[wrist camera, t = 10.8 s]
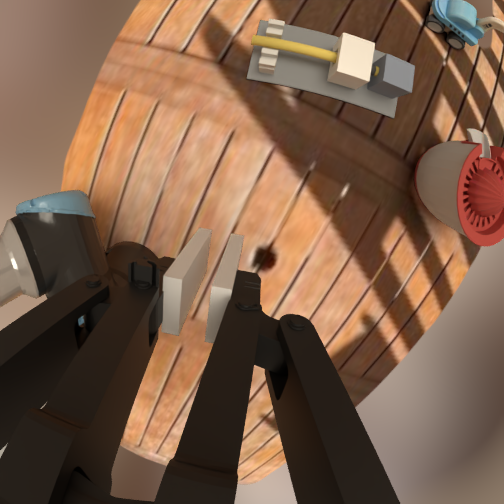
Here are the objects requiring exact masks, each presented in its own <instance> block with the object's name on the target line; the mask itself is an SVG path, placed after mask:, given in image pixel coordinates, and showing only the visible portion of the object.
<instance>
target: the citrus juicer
mask: <svg viewBox="0 0 504 504" xmlns="http://www.w3.org/2000/svg"><path fill="white" fill-rule="evenodd" d="M467 134H468V140H466V141H448V142H444V143H441V144H438V145H436V146H433V147H431V148H429V149H428V150H427V151H426V152H425V153H424V154H423V155H422V156H421V157H420V159H419V160H418V163H417V165H416V168H415V175H414V181H415V187H416V191H417V193H418V195H419V198H420V200H421V201H422V203H423V204H424V206H425V207H426V208H427V209H428V210H429V211H430V212H431V213H432V214H433V215H434V216H435V217H436V218H437V219H438V220H440V221H441V222H443V223H444V224H446V225H447V226H449V227H451V228H452V229H454V230H456V231H458V232H459V233H461V234H463V235H465V236H466V237H468V238H469V240H471V241H472V242H473V243H474V244H477V245H479V246H491V245H494V244H496V243H498V242H500V241H501V240H502V239H503V238H504V148H501V147H496V146H489V141H488V138H487V136H486V135H485V134H484V133H482V132H480V131H478V130H475V129H467Z"/></svg>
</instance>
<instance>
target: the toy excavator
mask: <svg viewBox="0 0 504 504" xmlns="http://www.w3.org/2000/svg"><path fill="white" fill-rule="evenodd" d="M430 7H431V8H430V13H429V15H428V16H427V18H426V26H427V27H428V28H430V29H431V30H433V31H435V32H437V33H443V32H444V31H445V32H447V33H448V35H447V39H446V40H447V42H449V43H450V44H451V45H450V46H452V47H454V48H456V49H462V48H464V47H465V42H467V43H468V44H469V45H470V46H473V45H476V44H477V43H478V39H480V38H482V37H483V36H484V33H485V32H486V31H488V30H491V29H497V30H499V31H501V32H503V33H504V22H503V21H502V20H500V19H498V18H495V17H486V18H483V19H478V18H476V14H477V11H476V9H475V8H474V7H473V6H472V5H470V4H469V3H467V2H465V1H463V0H431V1H430Z"/></svg>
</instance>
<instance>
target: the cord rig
mask: <svg viewBox="0 0 504 504" xmlns="http://www.w3.org/2000/svg"><path fill="white" fill-rule="evenodd" d="M284 23H285V21H280V20H274V19H269V21H263V20H260V24H259V28H258V32H257V35H253V37H252V42H251V45H254V49H253V53H252V57H251V61H250V66H249V70H248V75H247V79H249V80H256V81H261V82H267V83H272V84H277V85H282V86H287V87H292V88H296V89H300V90H304V91H308V92H312V93H316V94H320V95H324V96H327V97H331V98H334V99H338V100H341V101H344V102H348V103H351V104H354V105H357V106H360V107H363V108H366V109H369V110H372V111H374V112H377V113H380V114H383V115H385V116H388V117H390V118H394V116H395V110H396V104H397V98H398V97H399V96H403V95H406V94H409V93H412V86H413V78H414V69H415V66H414V65H412V64H410V63H407V62H405V61H403V60H401V59H399V58H396V57H394V56H392V55H389V54H384V53H382V52H379V51H377V50H374V54H373V61H372V68H371V74H370V81H369V82H368V83H366V84H364V85H363V86H361V87H359V88H358V89H356V90H355V89H352V88H348V87H345V86H342V85H339V84H335V83H332V82H328V81H327V79H328V73H329V68H330V62H334V63H336V59H337V53H336V52H332V51H333V46H334V45H335V44H336V42H337V41H338V39H339V37H336V36H332V35H329V34H325V33H321V32H317V31H313V30H309V29H305V28H301V27H296V26H291V25H286V24H284Z"/></svg>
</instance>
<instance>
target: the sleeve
mask: <svg viewBox="0 0 504 504" xmlns="http://www.w3.org/2000/svg"><path fill="white" fill-rule="evenodd" d="M374 46H375V43H373V42H370V41H367V40H364V39H362V38H359V37H356V36H353V35H350V34H347V33H343V34H342V35H341V37H340V38H339V39H338V41H337V42H336V44H335V45H334V46H333V51H332V52H336V53H337V59H336V63H334V62H330V68H329V73H328V79H327V81H328V82H332V83H335V84H339V85H342V86H345V87H348V88H352V89H355V90H356V89H358V88H359V87H361V86H363V85H364V84H366V83H368V82H369V81H370V74H371V68H372V61H373V54H374Z"/></svg>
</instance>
